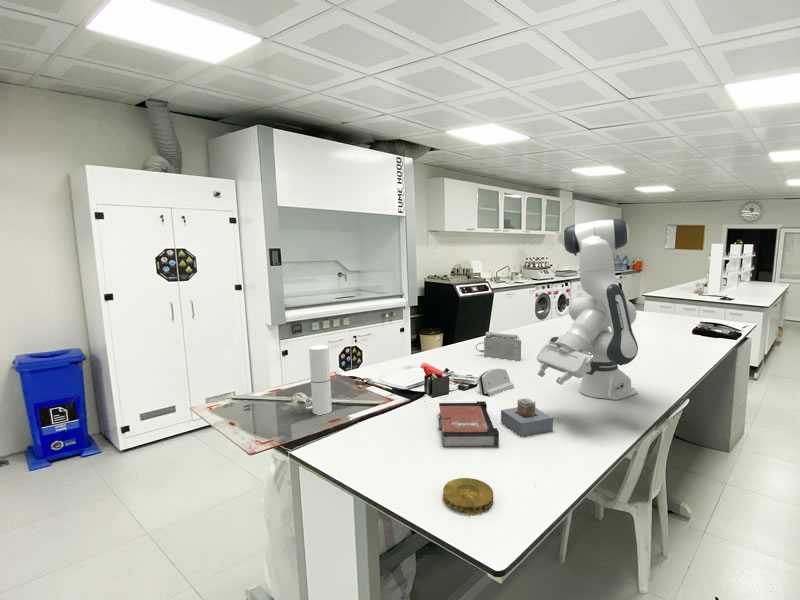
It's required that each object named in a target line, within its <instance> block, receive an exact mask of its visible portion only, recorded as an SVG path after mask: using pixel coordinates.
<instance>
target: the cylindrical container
mask: <svg viewBox="0 0 800 600" xmlns="http://www.w3.org/2000/svg"><path fill="white" fill-rule="evenodd" d="M329 349H330V348H329V345H326V344H317V345H312V346H309V348H308V351H309V367H310V368H309V370H310V372H309V373H310V388H311V406H312V414H313V413H314V414H317V415H316V416H319V415H322V414H327V413H330V412H331V411H333V410H332V407H333V406H332V389H331V388H332V386H331V370H330V367H331V366H330V365H331V364H330V350H329ZM331 413H332V412H331ZM331 413H330V414H331ZM314 414H313V415H314ZM327 415H328V414H327ZM322 416H323V415H322Z"/></svg>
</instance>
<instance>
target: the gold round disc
mask: <svg viewBox="0 0 800 600" xmlns="http://www.w3.org/2000/svg"><path fill="white" fill-rule="evenodd" d="M442 493H443V495H442V500H443V503H444V504H445V505H447V506H449V507H450V508H452V509H454V510H457V511H460V512H465V513H466V515H477V514H482V513H483V511H485V510H487V509H489V508H490V507H491V506H492V504H493V503H494V491H493V489H492V487H491V486H490V485H489V484H488V483H486V482H484V481H482V480H480V479H477V478H472V477H471V478H470V477H460V478H455V479H452V480H450V481H448V482H447V483H446V484H445V485H444V486H443V489H442Z"/></svg>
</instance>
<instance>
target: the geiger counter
mask: <svg viewBox="0 0 800 600" xmlns="http://www.w3.org/2000/svg"><path fill="white" fill-rule="evenodd" d="M483 340H484V341H483V342H479V343H477V344H476V345H475V350H477V352H479V353H483V354H484V355H483V357H484V358H488V357H491V358H490V359H496V358H499V359H498V360H504V359H507V360H506V361H512V360H515V361H514V362H521V361H522V340H521V339H520V337H519V336H518V334H510V333H509V334H508V333H499V332H498V333H497V332H492V331H486V332H485V337H484V339H483ZM480 344H483V346H484V347H483V349H478V348H477V347H478V345H480ZM520 360H521V361H520Z"/></svg>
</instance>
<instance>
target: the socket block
mask: <svg viewBox="0 0 800 600" xmlns="http://www.w3.org/2000/svg"><path fill="white" fill-rule="evenodd" d="M501 422H502V423H503V426H505V425H506V426H505V427H507V428H508V427H509V428H510V430H511V431H512V430H513V431H512V432H514V433H515V434H516V433H517V434H516V435H518V436H519V435H520V436H519V437H520V438H522V436H523V437H528V436H532V434H534V435H538V434H537V433H539V434H543V432H544V433H549V431H550V432H553V430H554V428H553V427H554V417H552V416H551V415H549V414H548V413H545V412H544V411H542V410H540V409H539V408H536V407H535V416H533V417H527V418H523V417H522V416H520V415H518V406H517V407H512V408H505V409H501V410H500V423H501ZM502 423H501V424H502ZM509 428H508V429H509ZM527 435H528V436H527Z"/></svg>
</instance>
